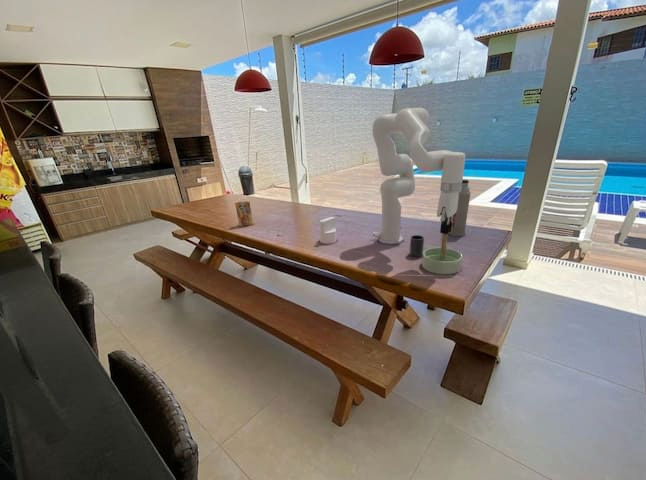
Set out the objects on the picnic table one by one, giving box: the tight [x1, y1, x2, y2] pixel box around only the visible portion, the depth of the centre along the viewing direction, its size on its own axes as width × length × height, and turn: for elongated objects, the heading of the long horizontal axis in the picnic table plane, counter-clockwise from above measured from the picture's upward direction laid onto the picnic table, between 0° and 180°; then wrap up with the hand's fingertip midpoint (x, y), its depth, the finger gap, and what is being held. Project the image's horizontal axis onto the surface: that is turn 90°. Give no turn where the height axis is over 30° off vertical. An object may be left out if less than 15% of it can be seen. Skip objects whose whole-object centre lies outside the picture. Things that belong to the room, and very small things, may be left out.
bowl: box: [421, 246, 464, 275], centre depth 128 cm, size 15×15×6 cm
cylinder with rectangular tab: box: [318, 216, 338, 245], centre depth 163 cm, size 9×9×12 cm
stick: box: [440, 219, 450, 261], centre depth 126 cm, size 2×2×18 cm
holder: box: [409, 234, 425, 258], centre depth 140 cm, size 6×6×9 cm
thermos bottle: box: [448, 179, 471, 237], centre depth 158 cm, size 8×8×28 cm
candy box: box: [234, 199, 254, 227], centre depth 197 cm, size 9×4×15 cm, turn 103°
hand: (445, 232), depth 125 cm, fingers closed on stick, 2 cm apart
